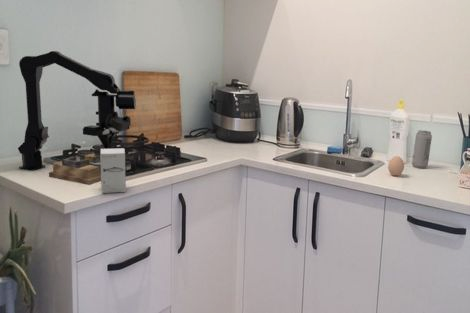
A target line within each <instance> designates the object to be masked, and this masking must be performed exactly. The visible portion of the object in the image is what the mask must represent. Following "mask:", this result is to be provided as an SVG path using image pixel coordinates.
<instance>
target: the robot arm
mask: <svg viewBox="0 0 470 313" xmlns="http://www.w3.org/2000/svg"><path fill="white" fill-rule="evenodd" d="M18 64H19V69H20V73H21V76H22V79H23V81H24V83H25V94H26V96H25V97H26V110H27V125H26V128H25V131H24V140H23V143H21V145H20V146H19V147H17V150H18V152H19V154H21V162H22V164H21V165H20V166H18V168H19V169H22V170H27V171H34V170H38V169H42V168H45V167H46V164H43V157H42V151H41V149H42V148H43V145H44V144H45V143H46V142H48V141H47V140H48V138H50V136H49V133H48V132H49V126H45V125H44V124H43V121H42V120H43V119H42V104H41V102H42V101H41V88H40V87H41V85H40V82H41V79H42V75H43V70H44V69H43V68H45V67H49V66H51V65H53V64H56V65H57V66H60V67H62V68H64V69H66V70H68V71H70V72H71V73H74V74H76V75H78V76H81V77H82V78H84V79H86V80H87V81H88V82H90V83H91V84H92V85H93V86H94V87H96V88H95V91H94V92H93V93H91V97H97V111H95V115H98V116H97V117H98V122H95V125H92V124H91V125H87V126H83V128H82V135H85V136H90V137H91V136H92V137H96V136H97V138H98V139H99V141H100V143H101V145H104V149H112V148H111V147H112V144H113V142H114V138H115V137H116V136H117V135H118V134H120V132H123V131H127V130H130V127H131V117H130V116H128V115H127V116H126V115H125V116H123V117H122V116H121V117H120V116H119V113H118V111H115V110H116V109H115V106H116V108H118V109H119V110H136V107H137V98H136V95H135V90H121V89H120V88H119V86H118V85H117V84H116V82H115V80H116V79H115V77H114V75H112V74H110V73H108V72H105V71H101V70H97V69H95V68H91V67H89V66H87V65H85V64H83V63H81V62H79V61H77V60H75V59H72V58H71V57H69V56H66V55H65V54H63V53H61V52H60V51H57V50H52V51H49V52H47V53H43V54H39V55H28V56H27V55H26V56H23V57H22V58H20V60H19V63H18ZM100 90H101V91H100Z"/></svg>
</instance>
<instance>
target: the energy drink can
mask: <svg viewBox="0 0 470 313" xmlns="http://www.w3.org/2000/svg"><path fill="white" fill-rule="evenodd" d="M432 138H433V135H432V133H431V131H430V130H422V129H420V130H417V132H416V134H415V140H414V144H413V154H412V161H411V165H412V167H413V168H415V169H416V168H417V169H427V167H428V166H429V161H430V153H431V152H430V151H431V146H432Z"/></svg>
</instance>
